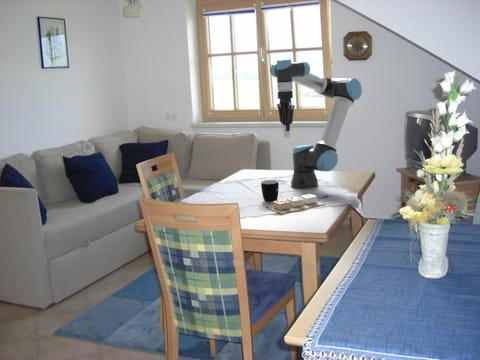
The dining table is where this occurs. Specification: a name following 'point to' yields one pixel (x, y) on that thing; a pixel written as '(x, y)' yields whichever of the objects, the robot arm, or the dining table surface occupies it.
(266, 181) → the mug
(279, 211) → the board
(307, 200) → the tile
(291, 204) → the tile
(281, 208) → the pink square block
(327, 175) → the dining table surface
